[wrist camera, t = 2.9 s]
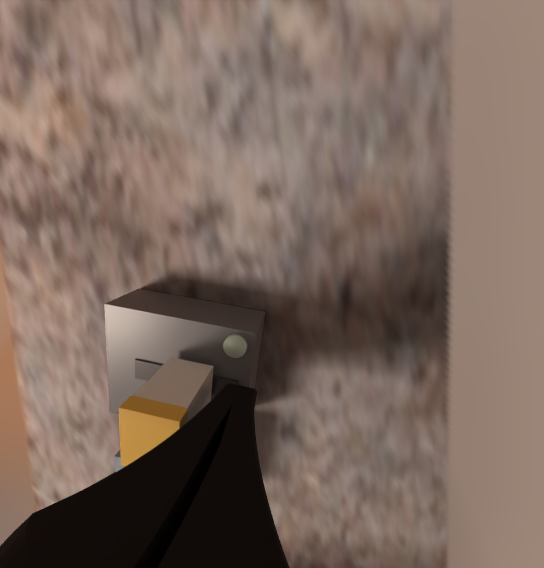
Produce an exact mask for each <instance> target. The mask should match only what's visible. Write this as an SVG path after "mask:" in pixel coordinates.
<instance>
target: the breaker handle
mask: <svg viewBox="0 0 544 568" xmlns="http://www.w3.org/2000/svg"><path fill="white" fill-rule="evenodd" d="M213 368H214V366H211V365H206V364H202V363H197V362H192V361H187V360H182V359H178V358H173V357H170V358H169V359H168V360H167V361H166V362H165V363H164V364H163V365H162V366H161V368H160V369H159V370H158V371H157V372H156V373H155V374H154V375H153V376H152V377H151V378H150V379H149V380H148V381H147V382H146V383H145V384H144V385H143V386H142V387H141V388H140V389H139V390H138V391H137V392H136V393H135V394H134V395H133V396H132V395H131V396H130V397H129V398H128V399H127V400H126V401H125V402H124V403H123V404H122V405H121V406H120V407H119V427H120V455H121V465H122V466H127V465H128V464H130V463H132V462H133V461H135V460H136V459H138V458H139V457H141V456H143V455H144V454H146V453H147V452H149V451H150V450H152V449H153V448H154V447H156V446H157V445H159V444H160V443H161V442H163V441H164V440H166V439H167V438H168V437H170V436H171V435H172V434H173V433H175V432H176V431H177V430H178V429H180V428H181V427H182V426H183V425H184V424H186V423H187V422H188V421H189V420H190V419H192V418H193V417H194V416H195V415H196V414H197V413H198V412H199V411H200V410H201V409H203V408H204V407H205V406H206V405H207V404H208V403H209V402H210V401H211V391H212V379H213Z"/></svg>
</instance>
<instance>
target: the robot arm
mask: <svg viewBox="0 0 544 568" xmlns="http://www.w3.org/2000/svg"><path fill="white" fill-rule="evenodd" d="M256 394H257V391H256V390H255V389H254V388H249V387H245V386H240V385H236V384H231V383H228V384H226V385H225V386H224V387H223V388H222V390H221V391H220V392H219V393H218V394H217V395H216V396H215V397H214V398H213V399H212V400H211V401H210V402H209V403H208V404H207V405H206V406H205V407H204V408H203V409H201V410H200V411H199V412H198V413H197V414H196V415H195V416H194V417H193V418H192V419H190V420H189V421H188V422H187V423H186V424H184V425H183V426H182V427H181V428H180V429H178V430H177V431H176V432H175V433H173V434H172V435H171V436H170V437H168V438H167V439H166V440H164V441H163V442H161V443H160V444H159V445H157V446H156V447H154V448H153V449H152V450H150V451H149V452H147V453H146V454H144V455H143V456H141V457H139V458H138V459H136V460H135V461H133V462H132V463H130V464H128V465H127V466H125V467H124V468H122V469H120V470H118V471H117V472H115V473H113V474H111V475H109V476H108V477H106V478H104V479H102V480H100V481H99V482H97V483H95V484H93V485H91V486H90V487H88V488H86V489H84V490H82V491H80V492H78V493H76V494H74V495H72V496H69V497H67V498H65V499H63V500H61V501H59V502H57V503H54V504H52V505H50V506H48V507H46V508H44V509H42V510H39V511H37V512H35V513H33V514H32V515H31V516H30V517H29V518H28V519H27V520H26V521H25V522H24V523H22V524H21V525H20V526H19V527H18V528H17V529H16V530H15V531H14V532H13V533H12V534H11V535H10V536H9V537H8V538H7V539H6V541H5V542H4V543H3V544H2V545H1V546H0V568H289V566H288V563H287V560H286V557H285V554H284V552H283V549H282V546H281V543H280V540H279V537H278V534H277V531H276V527H275V524H274V521H273V517H272V514H271V510H270V507H269V503H268V499H267V496H266V492H265V488H264V483H263V479H262V474H261V469H260V464H259V458H258V452H257V445H256V436H255V422H254V408H255V401H256Z"/></svg>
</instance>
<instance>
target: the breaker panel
mask: <svg viewBox="0 0 544 568" xmlns="http://www.w3.org/2000/svg"><path fill="white" fill-rule="evenodd" d="M265 313H266V312H265V311H259V310H254V309H248V308H243V307H237V306H232V305H227V304H221V303H216V302H210V301H205V300H199V299H194V298H188V297H183V296H178V295H172V294H167V293H161V292H156V291H150V290H145V289H137V290H135V291H133V292H130V293H128V294H126V295H124V296H121V297H119V298H117V299H115V300H112V301H110V302H108V303H106V304H105V325H106V345H107V366H108V387H109V407H110V412H111V413H116V414H119V407H120V406H121V405H122V404H123V403H124V402H125V401H126V400H127V399H128V398H129V397H130V396H131V395H132V396H133V395H134V394H135V393H136V392H137V391H138V390H139V389H140V388H141V387H142V386H143V385H144V384H145V383H146V382H147V381H148V380H149V379H150V378H151V377H152V376H153V375H154V374H155V373H156V372H157V371H158V370H159V369H160V368H161V366H162V365H163V364H164V363H165V362H166V361H167V360H168V359H169V358H170V357H173V358H178V359H182V360H187V361H192V362H197V363H202V364H206V365H211V366H214V368H213V379H212V391H211V400H212V399H213V398H214V397H215V396H216V395H217V394H218V393H219V392H220V391H221V390H222V388H223V387H224V386H225V385H226V384H228V383H231V384H236V385H240V386H245V387H249V388H254V389H255V383H256V376H257V369H258V362H259V355H260V348H261V341H262V334H263V327H264V320H265Z"/></svg>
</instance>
